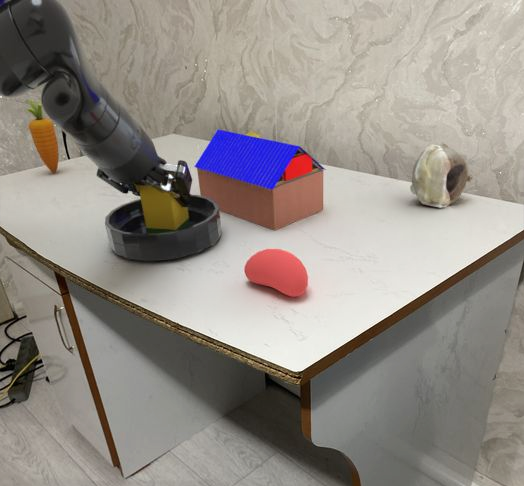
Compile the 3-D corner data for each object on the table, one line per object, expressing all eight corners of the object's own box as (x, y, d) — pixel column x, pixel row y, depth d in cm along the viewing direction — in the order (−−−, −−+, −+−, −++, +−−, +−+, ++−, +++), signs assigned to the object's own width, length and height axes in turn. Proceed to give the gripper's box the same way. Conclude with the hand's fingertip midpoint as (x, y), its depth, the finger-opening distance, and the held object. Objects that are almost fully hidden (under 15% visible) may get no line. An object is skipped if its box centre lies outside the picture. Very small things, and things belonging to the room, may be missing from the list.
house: (248, 186, 103) (243, 122, 97) (326, 209, 91) (326, 137, 84) (199, 204, 97) (190, 136, 90) (274, 231, 84) (270, 155, 78)
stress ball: (284, 278, 74) (259, 241, 71) (325, 277, 66) (298, 236, 64) (259, 303, 72) (233, 266, 70) (298, 304, 65) (270, 263, 62)
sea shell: (412, 219, 91) (396, 165, 86) (423, 195, 96) (409, 142, 91) (470, 209, 86) (457, 150, 80) (478, 184, 91) (466, 127, 86)
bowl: (110, 271, 76) (103, 242, 73) (112, 228, 90) (106, 202, 87) (229, 254, 78) (226, 224, 76) (213, 214, 92) (210, 188, 90)
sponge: (176, 237, 82) (168, 185, 77) (147, 235, 83) (137, 184, 79) (190, 225, 86) (182, 174, 81) (162, 223, 87) (153, 173, 83)
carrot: (66, 174, 119) (47, 100, 110) (43, 177, 117) (21, 104, 109) (64, 168, 123) (45, 97, 114) (42, 172, 121) (21, 100, 113)
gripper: (170, 112, 66) (216, 180, 82) (71, 113, 70) (134, 177, 86) (158, 169, 65) (208, 226, 81) (58, 166, 69) (124, 220, 85)
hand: (169, 200), depth 83 cm, fingers closed on sponge, 5 cm apart
